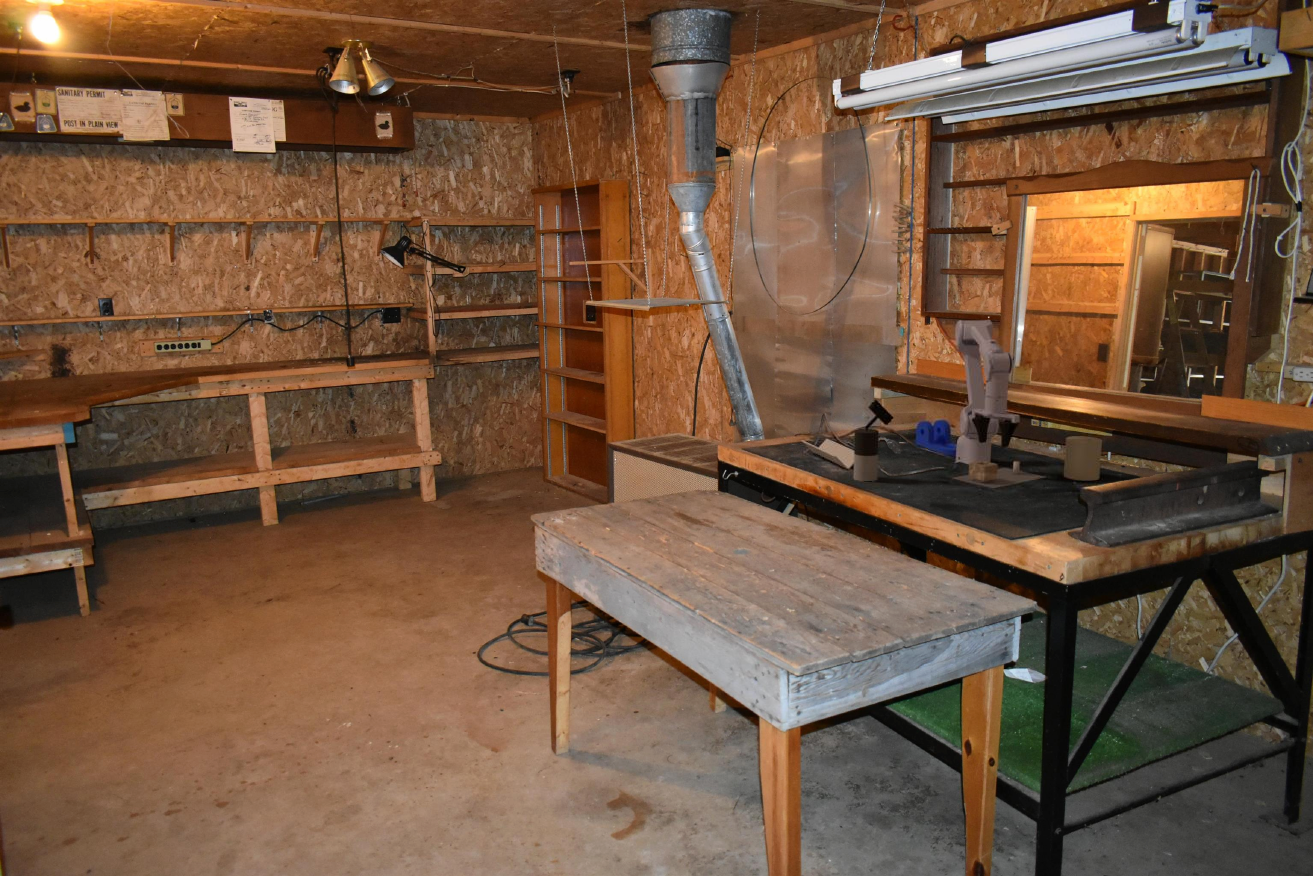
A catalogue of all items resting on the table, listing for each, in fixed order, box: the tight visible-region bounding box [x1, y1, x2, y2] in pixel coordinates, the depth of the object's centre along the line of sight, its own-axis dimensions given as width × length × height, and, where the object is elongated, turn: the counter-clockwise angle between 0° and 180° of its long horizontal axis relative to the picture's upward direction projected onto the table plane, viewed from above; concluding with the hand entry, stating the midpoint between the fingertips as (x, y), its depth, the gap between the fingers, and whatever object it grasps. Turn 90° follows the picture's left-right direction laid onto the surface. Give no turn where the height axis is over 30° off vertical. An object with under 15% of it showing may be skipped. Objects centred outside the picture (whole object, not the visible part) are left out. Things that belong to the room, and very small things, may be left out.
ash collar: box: [968, 461, 999, 481], centre depth 251 cm, size 5×5×4 cm
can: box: [1063, 435, 1103, 482], centre depth 254 cm, size 9×9×12 cm
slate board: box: [951, 460, 1046, 493], centre depth 255 cm, size 14×22×5 cm, turn 121°
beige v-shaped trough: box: [801, 438, 854, 470], centre depth 285 cm, size 12×25×6 cm
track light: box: [853, 399, 894, 482], centre depth 259 cm, size 6×17×20 cm
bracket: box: [915, 419, 957, 457], centre depth 296 cm, size 18×8×9 cm, turn 18°
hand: (993, 444), depth 258 cm, fingers open, 7 cm apart
